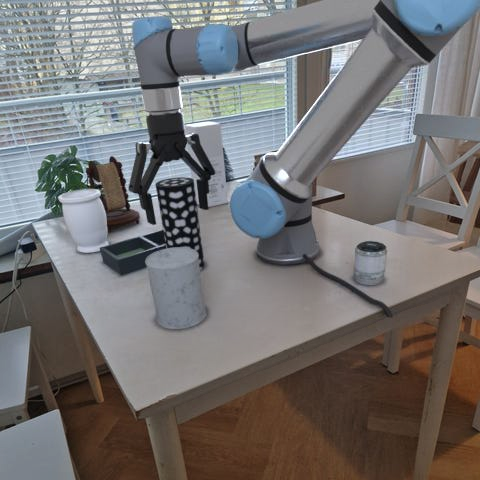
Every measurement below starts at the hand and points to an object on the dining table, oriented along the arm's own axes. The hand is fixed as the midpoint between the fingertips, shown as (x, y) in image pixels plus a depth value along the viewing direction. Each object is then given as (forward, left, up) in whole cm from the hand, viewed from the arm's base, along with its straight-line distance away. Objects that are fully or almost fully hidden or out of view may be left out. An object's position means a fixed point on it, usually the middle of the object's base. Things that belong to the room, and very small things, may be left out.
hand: (178, 215), depth 97 cm
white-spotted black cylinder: (0, 0, -13) cm, 13 cm away
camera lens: (-35, -24, -13) cm, 44 cm away
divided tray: (+13, +3, -13) cm, 18 cm away
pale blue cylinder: (-20, +13, -13) cm, 27 cm away
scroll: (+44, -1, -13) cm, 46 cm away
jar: (+30, +12, -13) cm, 35 cm away
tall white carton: (+40, -34, -13) cm, 54 cm away
